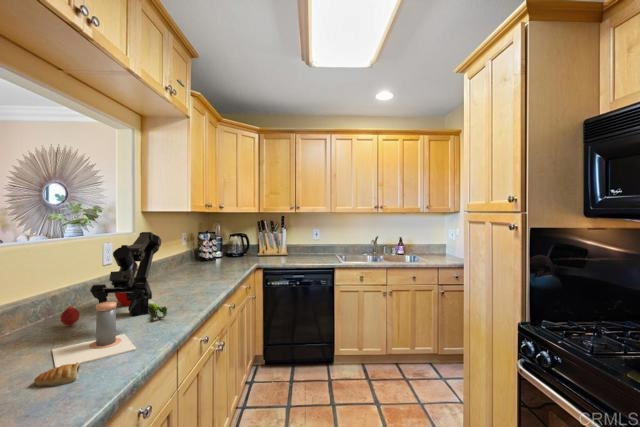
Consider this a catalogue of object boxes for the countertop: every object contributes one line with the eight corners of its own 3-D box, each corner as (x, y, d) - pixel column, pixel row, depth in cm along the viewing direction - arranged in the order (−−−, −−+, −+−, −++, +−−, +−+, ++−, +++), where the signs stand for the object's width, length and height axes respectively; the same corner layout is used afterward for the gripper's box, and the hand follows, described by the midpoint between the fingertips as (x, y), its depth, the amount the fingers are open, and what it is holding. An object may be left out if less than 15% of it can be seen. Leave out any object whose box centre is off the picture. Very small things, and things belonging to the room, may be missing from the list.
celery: (156, 307, 155) (172, 318, 132) (140, 312, 151) (153, 324, 128) (154, 295, 155) (170, 304, 132) (138, 299, 151) (151, 309, 128)
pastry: (30, 391, 79) (30, 376, 79) (39, 379, 85) (39, 364, 85) (77, 382, 83) (77, 367, 83) (82, 371, 89) (82, 357, 89)
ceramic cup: (134, 297, 166) (134, 278, 166) (150, 303, 156) (150, 282, 156) (105, 303, 155) (106, 282, 155) (121, 309, 145) (121, 287, 145)
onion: (69, 329, 120) (69, 308, 120) (56, 328, 121) (56, 307, 121) (83, 324, 126) (83, 303, 126) (71, 323, 127) (71, 303, 127)
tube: (109, 338, 111) (109, 300, 111) (120, 341, 108) (120, 302, 108) (91, 344, 105) (91, 305, 105) (102, 347, 103) (102, 307, 103)
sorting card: (124, 334, 115) (124, 333, 115) (136, 349, 103) (136, 348, 103) (52, 350, 102) (52, 349, 102) (55, 370, 89) (55, 368, 89)
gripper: (92, 262, 117) (76, 301, 106) (148, 261, 121) (138, 298, 110) (102, 279, 125) (88, 317, 114) (154, 277, 129) (145, 313, 118)
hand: (114, 311), depth 114 cm, fingers open, 9 cm apart
